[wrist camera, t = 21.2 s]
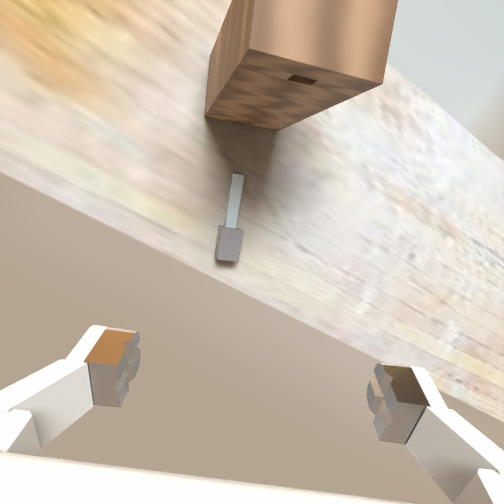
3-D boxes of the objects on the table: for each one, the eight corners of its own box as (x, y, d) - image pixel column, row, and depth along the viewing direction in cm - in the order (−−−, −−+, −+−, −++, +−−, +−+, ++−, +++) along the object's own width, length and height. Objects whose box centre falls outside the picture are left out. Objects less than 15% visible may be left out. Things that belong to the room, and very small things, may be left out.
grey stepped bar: (234, 257, 65) (238, 261, 62) (214, 255, 64) (217, 259, 61) (247, 176, 63) (252, 176, 59) (227, 172, 61) (231, 172, 58)
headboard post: (204, 116, 58) (249, 48, 29) (210, 55, 57) (264, -82, 27) (277, 130, 62) (382, 84, 33) (285, 74, 61) (403, -28, 31)
